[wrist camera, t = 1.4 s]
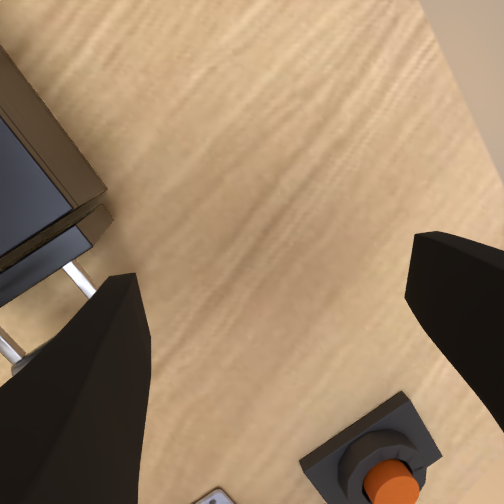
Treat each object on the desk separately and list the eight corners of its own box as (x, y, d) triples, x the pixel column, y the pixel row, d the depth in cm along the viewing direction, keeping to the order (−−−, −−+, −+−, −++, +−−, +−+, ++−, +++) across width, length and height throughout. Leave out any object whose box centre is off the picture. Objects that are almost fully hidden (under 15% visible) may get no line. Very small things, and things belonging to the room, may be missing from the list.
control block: (338, 512, 34) (353, 546, 31) (298, 461, 32) (311, 491, 29) (434, 446, 34) (458, 473, 31) (401, 390, 32) (424, 414, 29)
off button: (375, 505, 31) (387, 525, 29) (355, 476, 30) (366, 496, 28) (413, 479, 31) (427, 497, 29) (394, 449, 30) (407, 467, 28)
